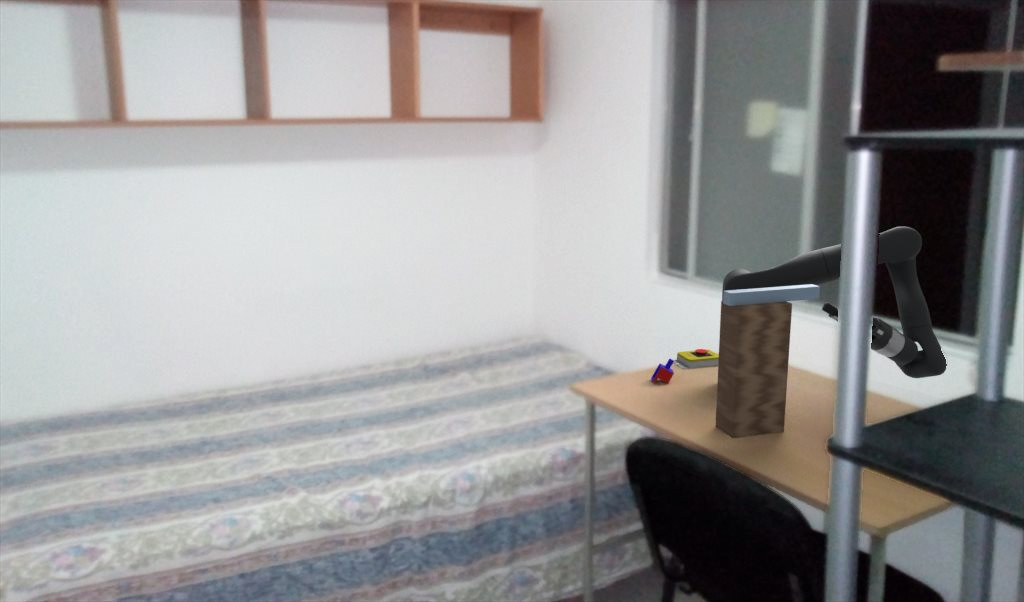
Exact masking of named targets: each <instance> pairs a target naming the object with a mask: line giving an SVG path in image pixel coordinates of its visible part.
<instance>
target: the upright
mask: <svg viewBox="0 0 1024 602" xmlns="http://www.w3.org/2000/svg"><path fill="white" fill-rule="evenodd" d="M792 312H793V302H792V303H791V302H790V301H785V302H772V303H760V304H747V305H735V306H729V305H726V304H724V303H723V301H722V300H720V316H719V317H720V321H719V323H720V325H719V340H718V341H719V342H718V343H719V344H718V355H719V361H718V366H717V384H716V385H717V386H716V387H717V388H716V410H715V427H716V428H717V429H718V430H720V431H721V432H723V433H724V434H725V435H727V436H729V438H731V439H739V438H746V437H754V436H761V435H769V434H777V433H784V432H785V423H786V422H785V420H786V419H785V418H786V405H787V404H786V403H787V391H788V390H787V387H788V377H789V376H788V375H789V373H788V372H789V358H790V343H791V328H792V327H791V326H792Z"/></svg>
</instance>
